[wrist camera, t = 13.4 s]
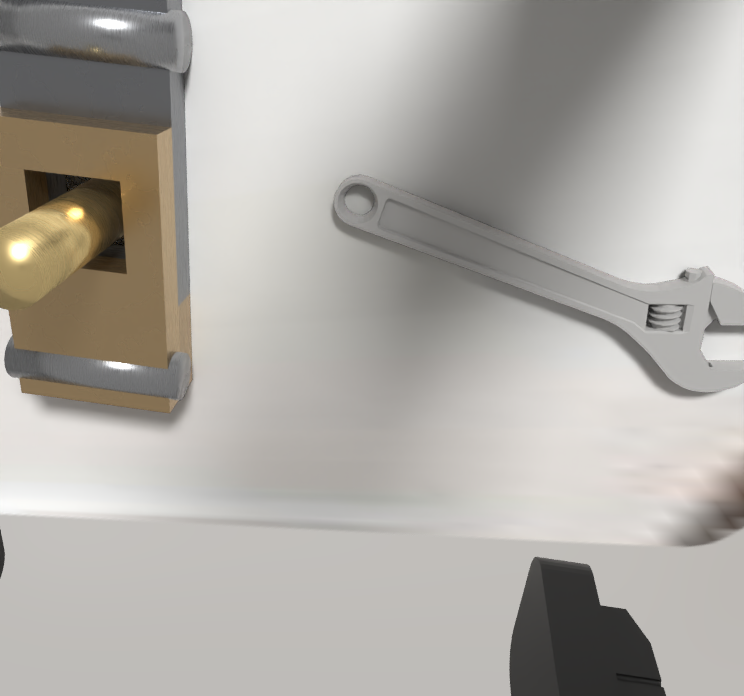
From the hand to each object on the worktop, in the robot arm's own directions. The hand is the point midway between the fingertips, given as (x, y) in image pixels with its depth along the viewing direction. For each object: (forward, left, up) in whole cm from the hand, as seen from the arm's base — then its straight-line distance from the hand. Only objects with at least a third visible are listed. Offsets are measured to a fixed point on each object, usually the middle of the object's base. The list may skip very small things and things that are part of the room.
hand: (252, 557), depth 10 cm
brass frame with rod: (+5, -16, -30) cm, 34 cm away
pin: (+5, -16, -30) cm, 34 cm away
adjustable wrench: (+5, +10, -31) cm, 33 cm away
